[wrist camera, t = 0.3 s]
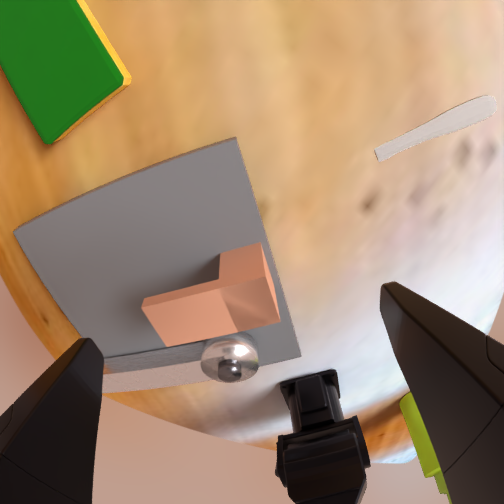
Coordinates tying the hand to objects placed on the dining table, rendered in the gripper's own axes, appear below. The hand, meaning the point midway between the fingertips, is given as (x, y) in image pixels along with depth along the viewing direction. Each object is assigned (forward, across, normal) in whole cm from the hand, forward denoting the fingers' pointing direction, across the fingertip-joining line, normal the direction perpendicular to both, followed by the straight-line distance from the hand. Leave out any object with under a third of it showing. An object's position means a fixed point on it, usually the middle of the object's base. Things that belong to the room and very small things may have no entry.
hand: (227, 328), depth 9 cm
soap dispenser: (+15, -19, +36) cm, 43 cm away
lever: (+13, +11, +15) cm, 23 cm away
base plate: (+14, +8, +8) cm, 19 cm away
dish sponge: (+15, +10, -14) cm, 23 cm away
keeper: (+13, +3, +7) cm, 15 cm away
